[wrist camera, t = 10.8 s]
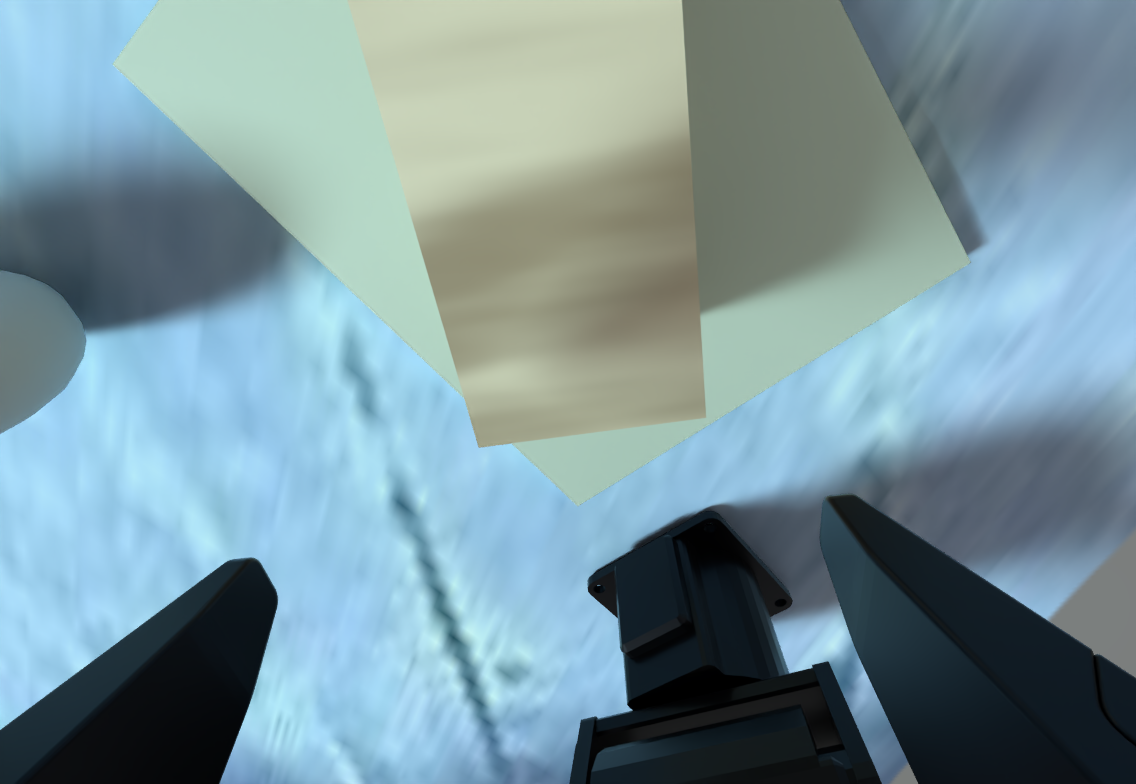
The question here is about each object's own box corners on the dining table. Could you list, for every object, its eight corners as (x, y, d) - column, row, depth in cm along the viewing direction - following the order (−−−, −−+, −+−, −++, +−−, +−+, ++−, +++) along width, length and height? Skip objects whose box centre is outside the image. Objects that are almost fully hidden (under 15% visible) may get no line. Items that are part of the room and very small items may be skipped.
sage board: (955, 254, 18) (970, 262, 18) (577, 492, 23) (577, 506, 23) (562, -520, 11) (561, -558, 10) (132, 63, 16) (112, 64, 15)
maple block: (706, 417, 14) (660, -373, 8) (478, 447, 15) (266, -274, 8) (673, 323, 19) (628, -216, 13) (502, 348, 19) (378, -159, 13)
